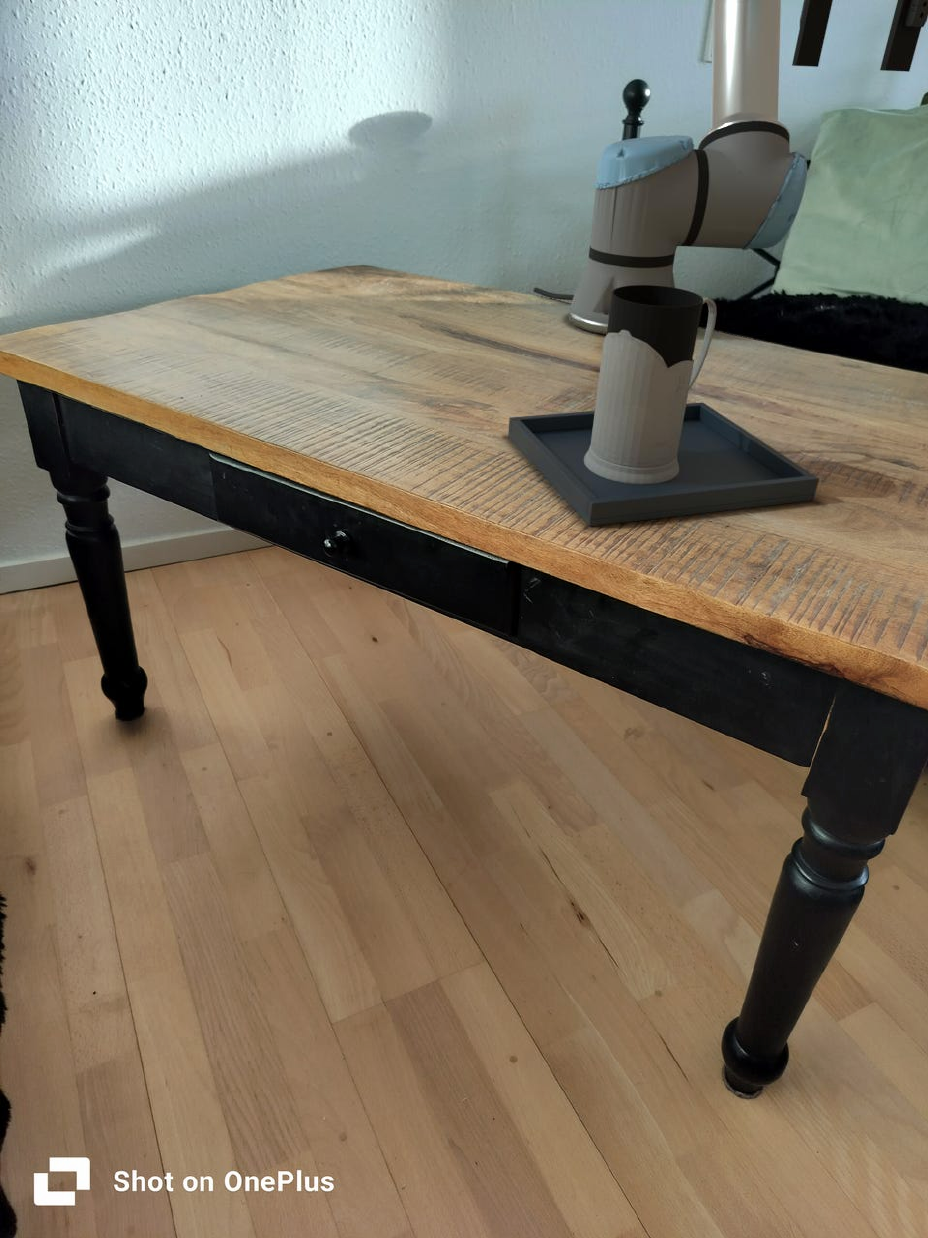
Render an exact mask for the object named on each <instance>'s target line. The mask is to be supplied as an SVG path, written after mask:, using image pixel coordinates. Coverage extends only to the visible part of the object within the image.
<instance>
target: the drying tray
mask: <svg viewBox="0 0 928 1238" xmlns="http://www.w3.org/2000/svg"><path fill="white" fill-rule="evenodd" d="M594 414H595V410H589V411H587V410H586V411H574V412H563V413H561V412H560V413H550V414H549V413H547V414H538V415H537V414H536V415H525V416H524V415H523V416H510V417H509V419H508V420H509V421H508V433H507V438H508V439H509V440H510V441H511V442H512V444H513V445H514V446H515V447H516V448H517V449H518V450H519V451H520V452H521V454H522V455H523V456H524V457H525V458H526V459H527V460H528V461H529V462H530V463H531V464H532V466H533V467H534V468H535V469H536V470H537V471H538V472H539V473H540V474H541V476H542V477H544V478H545V479H546V481H547V483H549V484H550V485H551V486H552V487H553V489H554V490H556V492H557V493H558V494H559V495H560V496H561V498H563V499H564V500H565V502H566V503H567V504H568V505H569V507H570V508H572V509H573V511H575V513H576V514H577V515H578V516H579V517H580V518H581V519H582V520H583V521H584V523H586V525H587V526H588V527H598V526H606V525H614V524H622V523H623V524H624V523H631V522H641V521H649V520H656V519H657V520H659V519H666V518H673V517H682V516H690V515H691V516H692V515H700V514H708V513H716V512H726V511H734V510H743V509H751V508H760V507H767V506H776V505H784V504H793V503H794V504H795V503H800V502H802V503H803V502H810V501H814V498H815V496H816V492H817V488H818V485H819V481H820V478H819V477H817V476H816V475H815V474H813V473H811V472H810V471H808V470H807V469H805V468H804V467H802V466H801V465H799V464H798V463H796V462H795V461H793V460H792V459H790V458H788V457H787V456H785V455H784V454H782V453H781V452H779V451H777V449H775V448H774V447H772V446H770V445H769V444H767V443H766V442H764V441H763V440H761V439H759V438H758V437H756V436H755V435H753V434H752V433H750V432H749V431H748V430H746V429H745V428H744V427H741V426H740V425H738V424H737V423H735V422H733V421H732V420H731V419H729V418H728V417H726V416H724V415H723V414H721V413H720V412H718V411H717V410H715V409H714V408H712V406H711V407H710V406H709V405H708V404H706V403H704V402H701V401H700V402H690V403H688V402H687V403H686V408H685V414H684V419H683V425H682V430H681V435H680V441H679V446H678V452H677V461H678V464H679V472H678V474H677V476H676V477H674V478H673V479H671V480H668V481H666V482H661V483H655V484H630V483H623V482H617V481H613V480H610V479H607V478H604V477H601V476H599V475H597V474H595V473H593V472H592V471H590V470H589V469H588V468H587V467H586V465H585V464H584V456H585V455H586V453H587V451H588V450H589V447H590V445H591V438H592V430H593V422H594Z"/></svg>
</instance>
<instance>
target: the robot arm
mask: <svg viewBox="0 0 928 1238" xmlns="http://www.w3.org/2000/svg"><path fill="white" fill-rule="evenodd" d="M833 2H834V0H803V3H802V8H801V14H800V18H799V29H798V35H797V39H796V45H795V49H794V53H793V59H792V63H791V66H793V67H812V68H813V67H814V68H818V67H819V65H820V60H821V56H822V51H823V47H824V43H825V39H826V33H827V29H828V24H829V20H830V15H831V11H832V6H833ZM781 3H782V0H712V29H711V30H712V32H711V33H712V35H711V76H710V77H711V78H710V79H711V81H710V87H711V88H710V121H709V131H708V132H706V134H704V135H703V136H702V137H701V139H700V140H699V142H698V147H697V148H695V144H694V139H693V138H692V137H691V136H688V135H677V134H675V135H655V136H654V135H653V136H643V137H642V136H641V137H636V138H627V139H624V140H620V141H619V140H618V141H615V142H613V143H611V144H609V145H607V146H606V147H605V148H604V149H603V151H602V152H601V154H600V157H599V162H598V163H599V164H598V168H597V175H596V180H595V182H594V188H595V194H594V204H593V211H592V212H593V213H592V222H591V223H592V224H591V230H590V240H589V249H588V256H587V264H586V266H585V268H584V271H583V274H582V276H581V278H580V281H579V283H578V286H577V288H576V290H575V293H574V294H567V293H566V294H565V293H555V292H551V291H548V290H545V289H541V288H539V287H534V288H533V292H534V293H536V294H539V295H541V296H543V297H546V298H550V299H552V300H553V299H554V300H560V301H561V300H564V301H571V303H570V307H569V313H568V314H569V315H568V320H569V322H570V323H571V324H573V325H574V326H575V327H578V328H579V329H582V330H584V331H588V332H591V333H595V334H600V335H605V336H606V335H607V328H608V320H609V312H610V304H611V296H612V291H613V290H614V289H616V288H619V287H624V286H631V285H655V286H665V287H672V288H676V284H675V279H674V264H675V263H674V262H675V256H676V251H677V248H678V247H689V248H690V247H691V248H717V249H739V250H742V251H747V250H749V249H750V250H751V249H770V248H772V247H773V248H774V247H775V246H777V245H778V244H779V243H780V242H781V241H782V240H783V239H784V238H785V237H786V235H787V234H788V232H789V231H790V229H791V228H792V226H793V224H794V222H795V220H796V217H797V215H798V212H799V210H800V207H801V203H802V201H803V197H804V195H805V190H806V183H807V178H808V163H807V159H806V157H805V155H804V154H802V153H800V152H799V151H792V152H791V151H790V138H791V137H790V136H791V133H790V130H789V129H788V127H787V126H786V125H785V124H784V123H782V122H781V121H779V95H780V94H779V89H780V87H779V86H780V53H781V52H780V51H781V48H780V47H781V14H782V13H781V11H782V10H781V8H782V4H781ZM927 21H928V0H897V2H896V6H895V10H894V14H893V17H892V21H891V25H890V29H889V33H888V36H887V41H886V45H885V49H884V52H883V56H882V61H881V64H880V68H879V71H883V72H884V71H886V72H905V73H906V72H907V73H908V72H909V73H910V71H911V67H912V64H913V61H914V56H915V52H916V49H917V45H918V42H919V38H920V34H921V31H922V28H924V27H925V25H926V23H927Z"/></svg>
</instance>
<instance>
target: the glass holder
mask: <svg viewBox="0 0 928 1238" xmlns="http://www.w3.org/2000/svg"><path fill="white" fill-rule="evenodd" d="M704 304H707V308H708V317H707V324H706V329H705V332H704V337H703V340H702V344H701V347H700V350H699V352H698V355H697V357H696V361H695V359H694V354H695V353H694V352H695V347H696V343H697V337H698V332H699V326H700V320H701V315H702V311H703V305H704ZM716 320H717V305H716V302H715V301H714V300H713V299H711V298H709V297H705V296H704V297H702V296H701V295H699V294H698V293H695V292H693V291H691V290H687V289H683V288H679V287H675V288H672V287H665V286H655V285H631V286H624V287H619V288H616V289H614V290H613V291H612V296H611V304H610V312H609V320H608V328H607V335H606V334H605V337H604V339H603V344H602V351H601V359H600V368H599V374H598V375H599V376H598V382H597V383H598V384H597V392H596V399H595V406H594V407H595V408H594V411H595V414H594V422H593V430H592V438H591V445H590V447H589V450H588V451H587V453H586V455H585V456H584V464H585V465H586V467H587V468H588V469H589V470H590V471H592V472H593V473H595V474H597V475H599V476H601V477H604V478H607V479H610V480H613V481H617V482H623V483H630V484H655V483H661V482H666V481H668V480H671V479H673V478H674V477H676V476H677V474H678V472H679V464H678V461H677V452H678V446H679V441H680V435H681V430H682V425H683V419H684V414H685V408H686V404H688V397H689V391H690V390H691V389H692V387H693V385H694V383H695V382H696V380H697V378H698V377H699V374H700V372H701V370H702V368H703V365H704V363H705V359H706V358H707V355H708V353H709V349H710V346H711V342H712V340H713V335H714V332H715V326H716V322H717V321H716Z"/></svg>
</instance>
